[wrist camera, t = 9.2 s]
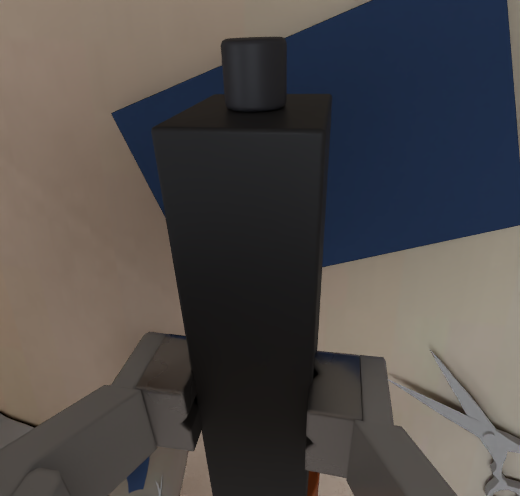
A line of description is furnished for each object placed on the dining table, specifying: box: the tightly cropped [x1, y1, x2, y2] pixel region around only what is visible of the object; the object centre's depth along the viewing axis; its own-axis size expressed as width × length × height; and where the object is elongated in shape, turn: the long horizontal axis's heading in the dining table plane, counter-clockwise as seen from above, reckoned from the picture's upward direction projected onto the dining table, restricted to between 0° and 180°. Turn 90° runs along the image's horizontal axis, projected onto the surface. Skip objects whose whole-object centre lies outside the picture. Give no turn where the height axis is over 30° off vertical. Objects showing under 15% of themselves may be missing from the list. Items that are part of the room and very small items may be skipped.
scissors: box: [389, 350, 520, 496], centre depth 29 cm, size 11×1×20 cm
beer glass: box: [108, 446, 189, 496], centre depth 26 cm, size 7×7×15 cm
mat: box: [111, 0, 520, 267], centre depth 21 cm, size 20×13×1 cm, turn 111°
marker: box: [151, 37, 332, 496], centre depth 9 cm, size 14×3×3 cm, turn 1°
